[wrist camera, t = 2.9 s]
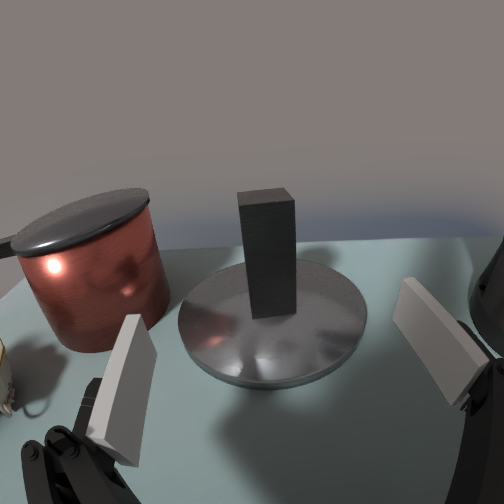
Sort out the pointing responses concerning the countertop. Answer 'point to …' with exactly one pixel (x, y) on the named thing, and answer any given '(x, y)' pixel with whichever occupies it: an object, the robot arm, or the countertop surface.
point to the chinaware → (5, 383)
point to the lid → (271, 307)
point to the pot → (93, 267)
